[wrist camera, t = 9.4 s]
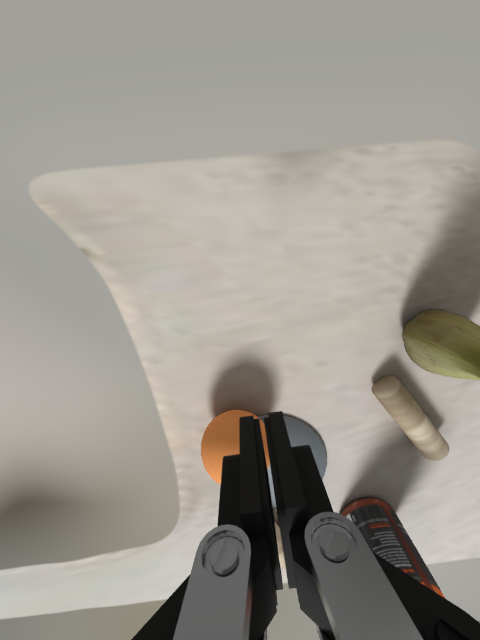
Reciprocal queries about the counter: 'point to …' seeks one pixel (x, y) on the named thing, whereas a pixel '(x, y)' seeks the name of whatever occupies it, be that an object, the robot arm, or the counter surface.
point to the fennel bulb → (444, 344)
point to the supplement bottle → (389, 538)
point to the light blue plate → (298, 437)
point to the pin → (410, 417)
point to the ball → (225, 441)
